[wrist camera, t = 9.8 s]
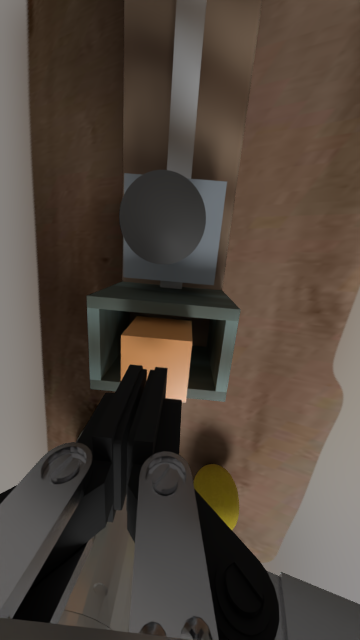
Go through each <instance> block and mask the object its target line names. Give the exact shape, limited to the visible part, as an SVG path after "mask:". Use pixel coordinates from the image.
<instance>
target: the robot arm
mask: <svg viewBox="0 0 360 640" xmlns="http://www.w3.org/2000/svg"><path fill="white" fill-rule="evenodd" d="M167 371H168V368H163V367H155V370H150V372H149V375H148V378H147V369H143V366H142V365H131V364H130V365H129V367H128V369H127V371H126V373H125V375H124V377H123V379H122V380H121V382H120V384H119V386H118V388H117V390H116V392H115V393H105V395H104V396H103V398H102V400H101V401H100V403H99V405H98V406H97V408H96V410H95V411H94V413H93V415H92V416H91V418H90V420H89V422H88V423H87V425H86V427H85V428H84V430H83V431H82V432H81V434H80V436H79V438H78V439H77V441H76V442H72V443H65V444H62V445H60V446H57V447H55V448H54V449H52V450H50V451H49V452H48V453H47V454H45V455H44V456H43V457H42V458H41V459H40V461H39V462H38V463H37V464H36V465H35V466H34V467H33V468H32V469H31V470H30V472H29V473H28V474H27V475H26V476H25V477H24V478H23V480H21V482H20V483H19V484H18V485H16V486H14V487H13V488H11V489H9V490H7V491H5V492H3V493H1V494H0V640H360V604H358V603H355V602H353V601H350V600H348V599H345V598H343V597H341V596H338V595H336V594H333V593H331V592H329V591H326V590H324V589H321V588H319V587H316V586H314V585H311V584H309V583H307V582H304V581H302V580H300V579H297V578H294V577H292V576H290V575H287V574H285V573H283V572H281V573H280V576H278V575H275V574H273V573H271V572H268V571H266V570H265V568H264V567H263V565H262V564H261V563H260V561H259V560H258V559H257V558H256V557H255V556H254V555H253V553H252V552H251V551H250V550H249V549H248V548H247V547H246V546H245V544H244V543H243V542H242V541H241V540H240V539H239V538H238V537H237V536H236V534H235V533H234V532H233V531H232V530H231V529H230V528H229V527H228V526H227V524H226V523H225V522H224V521H223V520H222V519H221V518H220V517H219V515H218V514H217V513H216V512H215V511H214V510H213V509H212V508H211V507H210V505H209V504H208V503H207V502H206V501H205V500H204V499H203V498H202V496H201V495H200V494H199V493H198V492H197V491H196V490H195V489H194V485H193V478H192V473H191V470H190V467H189V465H188V463H187V462H186V460H185V459H184V458H182V457H181V456H180V455H179V445H180V425H181V406H182V400H179V399H168V398H166V385H167Z"/></svg>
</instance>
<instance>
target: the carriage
mask: <svg viewBox="0 0 360 640" xmlns="http://www.w3.org/2000/svg"><path fill="white" fill-rule="evenodd" d="M226 186H227V182H224V181H212V180H200V179H188V178H186V177H184V176H183V175H181V174H179V173H177V172H174V171H170V170H154V171H150V172H147V173H145V174H143V175H141V174H129V173H124V196H123V198H122V202H121V205H120V213H119V220H120V227H121V231H122V234H123V237H124V250H123V277H126V278H137V279H149V280H160V281H171V282H182V283H194V284H205V285H214V280H215V272H216V264H217V256H218V249H219V241H220V233H221V225H222V217H223V210H224V202H225V194H226Z"/></svg>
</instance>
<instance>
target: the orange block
mask: <svg viewBox="0 0 360 640" xmlns="http://www.w3.org/2000/svg"><path fill="white" fill-rule="evenodd" d="M191 351H192V322H191V321H187V320H176V319H165V318H154V317H143V316H137V317H136V318H135V319H134V320H133V321H132V323H131V324H130V325H129V326H128V327H127V329H126V330H125V331H124V332H123V333H122V335H121V380H122V379H123V377H124V375H125V373H126V371H127V369H128V367H129V365H130V364H131V365H142V366H143V369H147V378H148V375H149V372H150V370H155V367H163V368H168V371H167V385H166V398H168V399H179V400H182V402H186V397H187V388H188V379H189V369H190V360H191Z"/></svg>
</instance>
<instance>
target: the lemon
mask: <svg viewBox="0 0 360 640" xmlns="http://www.w3.org/2000/svg"><path fill="white" fill-rule="evenodd" d="M193 485H194V489H195V490H196V491H197V492H198V493H199V494H200V495H201V496H202V498H203V499H204V500H205V501H206V502H207V503H208V504H209V505H210V507H211V508H212V509H213V510H214V511H215V512H216V513H217V514H218V515H219V517H220V518H221V519H222V520H223V521H224V522H225V523H226V524H227V526H228V527H229V528H230V529H231V530H233V528H234V527H235V525H236V523H237V520H238V515H239V499H238V492H237V488H236V485H235V483H234V481H233V479H232V477H231V475H230V474H229V473H228V471H227V470H226V469H224V468H223V467H221V466H219V465H216V464H209V465H206V466H204V467H202V468H201V469H200V470H199V471H198V473H197V474H196V476H195V478H194V482H193Z"/></svg>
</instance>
